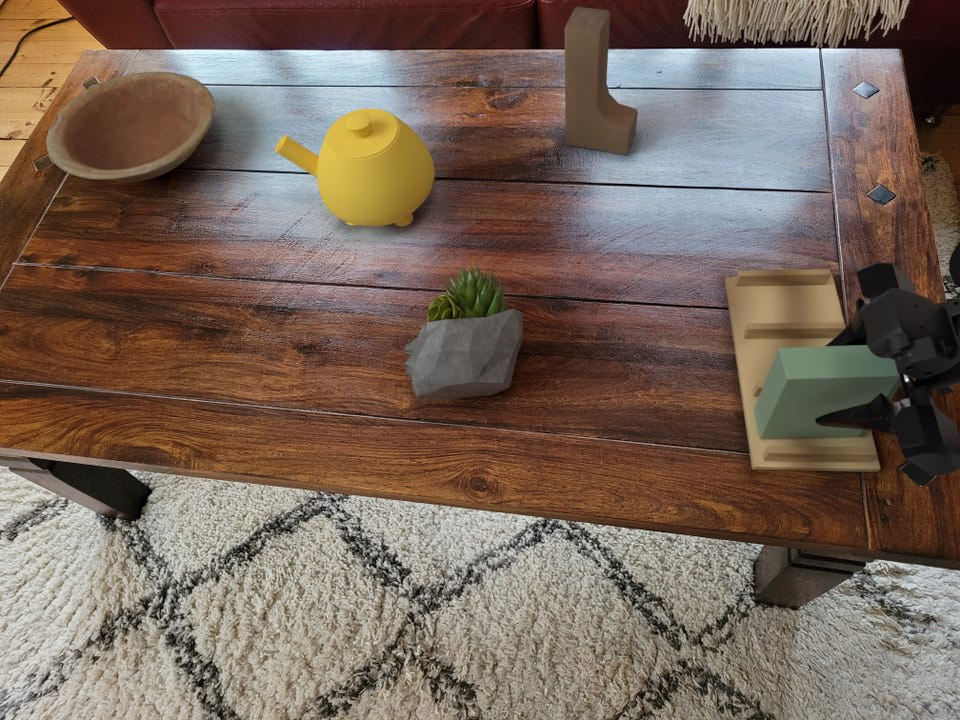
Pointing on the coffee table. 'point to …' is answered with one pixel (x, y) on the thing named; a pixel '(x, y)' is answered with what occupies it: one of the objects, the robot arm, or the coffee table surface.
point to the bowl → (131, 127)
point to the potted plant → (466, 341)
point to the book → (820, 389)
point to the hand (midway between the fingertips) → (811, 393)
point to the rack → (786, 324)
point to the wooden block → (593, 87)
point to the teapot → (368, 168)
